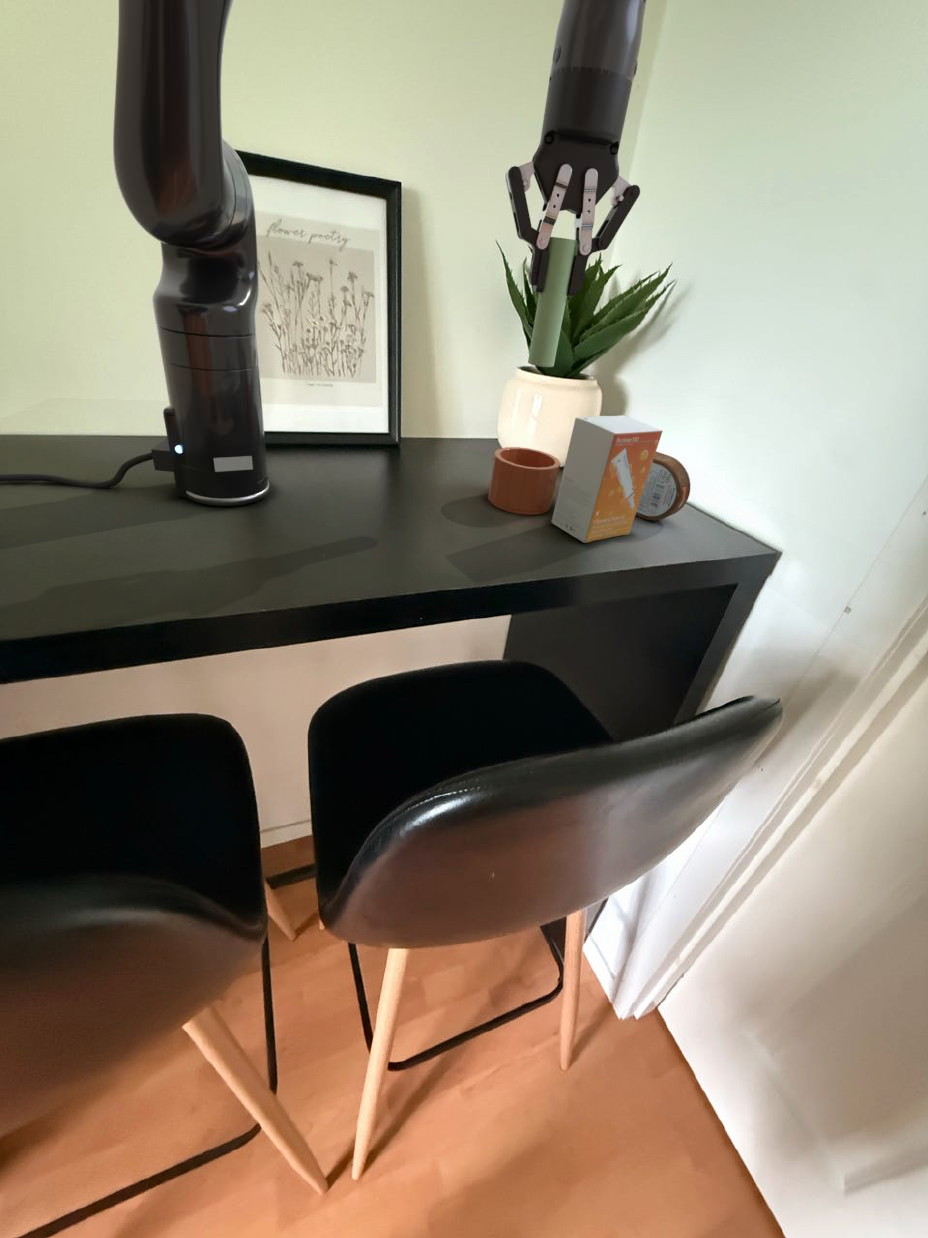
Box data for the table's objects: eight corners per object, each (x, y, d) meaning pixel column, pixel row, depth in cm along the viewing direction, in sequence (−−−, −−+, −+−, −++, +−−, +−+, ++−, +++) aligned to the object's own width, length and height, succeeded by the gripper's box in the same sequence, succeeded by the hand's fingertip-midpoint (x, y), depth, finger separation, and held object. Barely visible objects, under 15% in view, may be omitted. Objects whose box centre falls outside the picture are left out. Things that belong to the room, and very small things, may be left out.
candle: (530, 365, 62) (551, 236, 55) (525, 360, 65) (546, 236, 58) (555, 368, 62) (580, 240, 56) (550, 363, 65) (573, 240, 58)
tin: (679, 525, 74) (701, 463, 69) (668, 531, 72) (691, 468, 67) (584, 488, 81) (599, 430, 77) (572, 492, 79) (587, 433, 75)
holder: (491, 511, 70) (499, 465, 67) (485, 487, 77) (491, 444, 73) (556, 517, 71) (566, 471, 68) (543, 492, 78) (552, 450, 74)
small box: (584, 545, 65) (614, 433, 58) (549, 522, 69) (573, 415, 62) (631, 535, 69) (664, 429, 62) (595, 514, 73) (623, 413, 66)
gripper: (651, 96, 54) (605, 299, 64) (510, 71, 52) (485, 283, 62) (681, 78, 48) (625, 305, 57) (522, 48, 46) (492, 287, 56)
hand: (553, 292), depth 60 cm, fingers closed on candle, 3 cm apart
